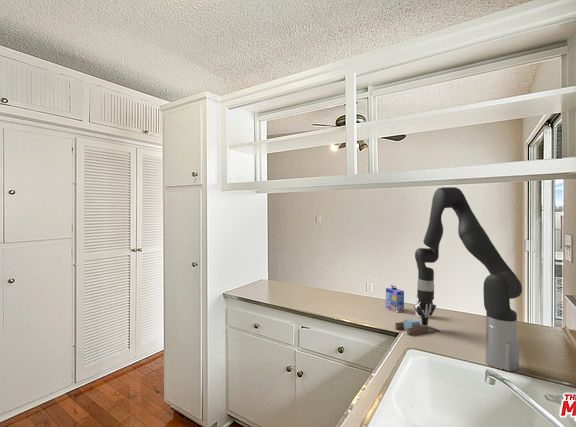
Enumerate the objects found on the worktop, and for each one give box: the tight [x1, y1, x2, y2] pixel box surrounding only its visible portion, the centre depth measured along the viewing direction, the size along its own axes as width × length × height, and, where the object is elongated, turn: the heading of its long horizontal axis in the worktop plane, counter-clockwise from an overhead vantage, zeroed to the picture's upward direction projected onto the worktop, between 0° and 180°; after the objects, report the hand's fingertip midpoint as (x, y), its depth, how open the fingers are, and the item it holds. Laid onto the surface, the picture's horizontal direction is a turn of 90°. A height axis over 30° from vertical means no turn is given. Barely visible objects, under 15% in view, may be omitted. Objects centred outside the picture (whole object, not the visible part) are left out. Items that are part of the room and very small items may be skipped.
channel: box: [394, 321, 429, 336], centre depth 147 cm, size 8×12×3 cm
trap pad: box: [420, 323, 441, 333], centre depth 151 cm, size 10×6×1 cm, turn 25°
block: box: [402, 318, 421, 332], centre depth 147 cm, size 5×5×5 cm
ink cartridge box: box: [385, 284, 405, 312], centre depth 183 cm, size 10×6×14 cm, turn 25°
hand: (424, 324), depth 151 cm, fingers closed
